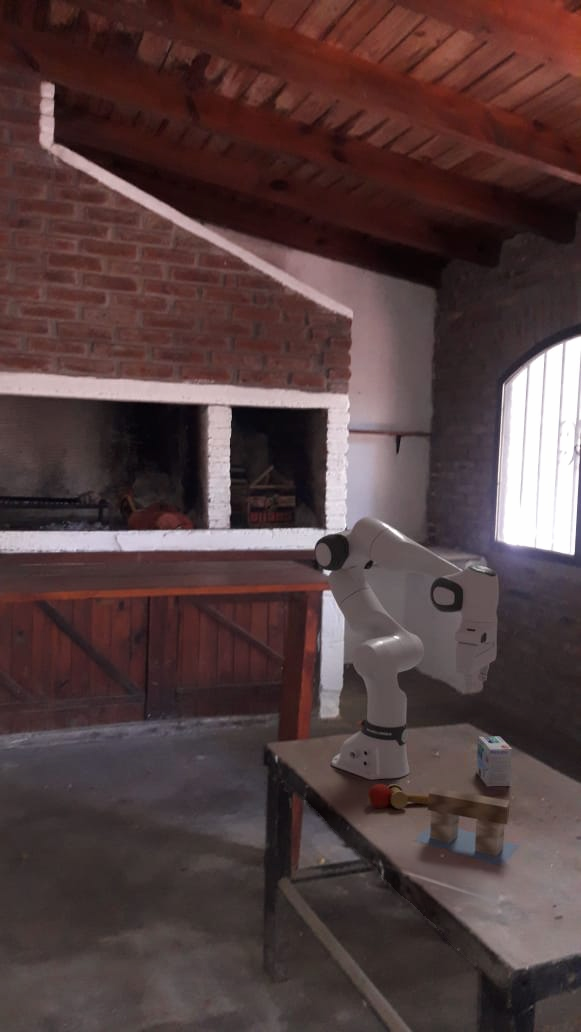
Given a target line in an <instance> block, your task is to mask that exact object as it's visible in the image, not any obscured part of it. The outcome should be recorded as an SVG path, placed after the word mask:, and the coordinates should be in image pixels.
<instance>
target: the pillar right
mask: <svg viewBox="0 0 581 1032" xmlns="http://www.w3.org/2000/svg"><path fill="white" fill-rule="evenodd" d="M475 822H476V823H475V824H476V825H475V833H476V839H475V851H478V852H481V853H485V854H488V855H492V856H495V857H497V855H498V854H499V853H500V852H501V850H502V849H503V844H504V842H505V838H504V837H505V825H506V824H501V823H495V822H490V821H485V820H479V819H476V821H475Z"/></svg>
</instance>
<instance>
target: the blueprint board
mask: <svg viewBox="0 0 581 1032" xmlns="http://www.w3.org/2000/svg"><path fill="white" fill-rule="evenodd" d="M430 828H431V824H430V825H429V826H428V827H427V828H426V829H425V830H424V831H422V832H421V833H420V834H419V835H418V836H417V837H416V838H415V839H414V840H413V841H415V842H418V843H422V844H425V845H428V846H432V847H435V848H438V849H441V850H445V851H448V852H452V853H454V854H459V855H463V856H466V857H469V858H472V859H475V860H479V861H483V862H486V863H489V864H492V865H495V866H499V867H504V865H505V864H506V862H507V861H508V859H510V857H511V856H512V855H513V853H514V852H515V851H516V850H517V848H518V847H519V845H518V844H515V843H511V842H507V841H504V844H503V849H502V850H501V852H500V853H499V854H498V855H497V857H495V856H492V855H488V854H485V853H481V852H478V851H475V839H476V832H471V831H468V830H464V829H461V828H458V836H457V837H456V838H455V839H454V840H453V841H452V842H451V843H447V842H444V841H440V840H437V839H433V838H430Z"/></svg>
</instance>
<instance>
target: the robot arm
mask: <svg viewBox="0 0 581 1032" xmlns="http://www.w3.org/2000/svg"><path fill="white" fill-rule="evenodd" d="M313 553H314V558H315V561H316V563H317V565H318V567H320V568H321V570H325V571H330V572H329V574H328V578H327V582H328V583H327V584H328V586H329V589H330V592H331V594H332V596H333V600H335V602H336V605H337V607H338V609H339V610H340V611H341V613H342V615H343V617H344V618H345V620H346V622H347V623H348V625H349V627H350V628H351V630H352V631H353V632H354V633H356V634H357V635H358V634H359V635H361V636H362V637H364V638H365V639H366V640H365V641H364V642H362V643H361V644H359V645H357V647H355V649H354V650H353V653H352V664H353V668H354V669H355V671H356V672H357V674H358V675H359V676H360V677H361V678H362V679H363V681H364V684H365V687H366V694H367V709H366V710H367V711H366V712H367V714H366V715H367V716H366V717H365V718H364V719H362V720H361V721H359V722H358V727H359V728H360V727H361V730H359V731H358V732H356V733H355V734H353V735H351V736H350V737H348V738H347V739H346V740H345V741H343V743H342V745H341V747H340V751H339V752H340V753H338V754H336V755H334V756H333V758H332V760H331V766H333V767H335V768H338V769H341V770H344V771H346V772H349V773H351V774H354V775H357V776H360V777H363V778H365V779H366V780H367V779H368V780H372V781H373V780H379V779H380V780H381V779H399V778H402V777H405V776H407V775H409V773H410V771H411V770H410V767H409V763H408V757H407V745H406V744H407V741H408V740H407V738H408V722H407V705H408V703H407V702H408V698H407V694H406V692H404V690H402V689H401V688H400V686H399V681H398V673H402V672H404V671H408V670H411V669H413V668H414V667H416V666H417V665H419V664H420V663H421V661H423V658H424V655H425V647H424V646H425V645H424V644H423V642H422V640H421V638H420V637H419V636H418V635H416V634H415V633H412V632H410V631H408V630H406V629H405V628H404V627H403V626H402V625H400V624H399V623H398V622H397V621H396V620H395V619H394V618H393V616H391V615H390V614H389V613H388V611H387V610H386V609H385V607H384V606H383V605H382V603H381V602H380V600H379V598H378V597H377V595H376V594H375V592H374V591H373V588H372V587H371V586H370V584H369V583H368V581H367V580H366V578H365V576H364V575H365V574H364V570H369V569H371V568H372V567H373V564H376V565H378V566H379V567H380V568H383V569H385V570H388V571H390V572H393V573H412V574H421V575H426V576H429V577H431V578H432V579H434V581H433V582H432V583H431V586H430V593H429V594H430V595H429V597H430V601H431V603H432V605H433V606H434V607H435V609H436V610H438V612H439V611H440V612H442V613H449V614H450V613H460V614H461V623H460V625H459V628H458V629H457V631H456V632H455V635H454V640H455V642H457V643H456V648H455V668H456V671H457V673H458V674H463V678H464V681H465V683H464V685H465V689H466V690H473V689H474V688H475V681H474V676H475V673H476V672H477V671H479V673H478V678H477V680H478V681H480V682H485V681H487V679H488V671H489V668H490V664H491V663H493V662H494V661H496V658H497V654H498V653H497V652H498V651H497V648H498V647H497V646H498V645H497V641H498V639H497V637H498V636H497V635H498V615H497V609H498V606H499V600H500V599H499V598H500V596H499V595H500V589H499V588H500V587H499V578H498V574H497V573H496V571H495V570H493V569H492V568H490V567H487V566H485V565H477V564H473V565H469V566H466V568H463V567H461V566H459V565H457V564H456V563H454V562H452V561H451V560H449V559H447V558H445V557H443V556H442V555H440V554H439V553H437V552H434V551H432V550H431V549H429V548H426V547H425V546H423V545H422V544H420V543H418V542H416V541H414V540H413V539H412V538H409V537H408V536H406V535H405V534H404V533H402V532H401V531H400V530H398V529H396V528H395V527H393V526H391V524H388V523H387V522H384V521H382V520H381V519H380V520H379V519H378V518H376V517H375V518H374V517H373V516H365V517H362V518H360V519H359V520H357V521H356V522H355V524H353V526H352V528H351V529H350V528H349V529H345V530H342V531H339V532H335V533H331V534H327V535H324V536H323V537H321V538H319V539H318V540H317V542H316V543H315V545H314V551H313Z"/></svg>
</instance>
